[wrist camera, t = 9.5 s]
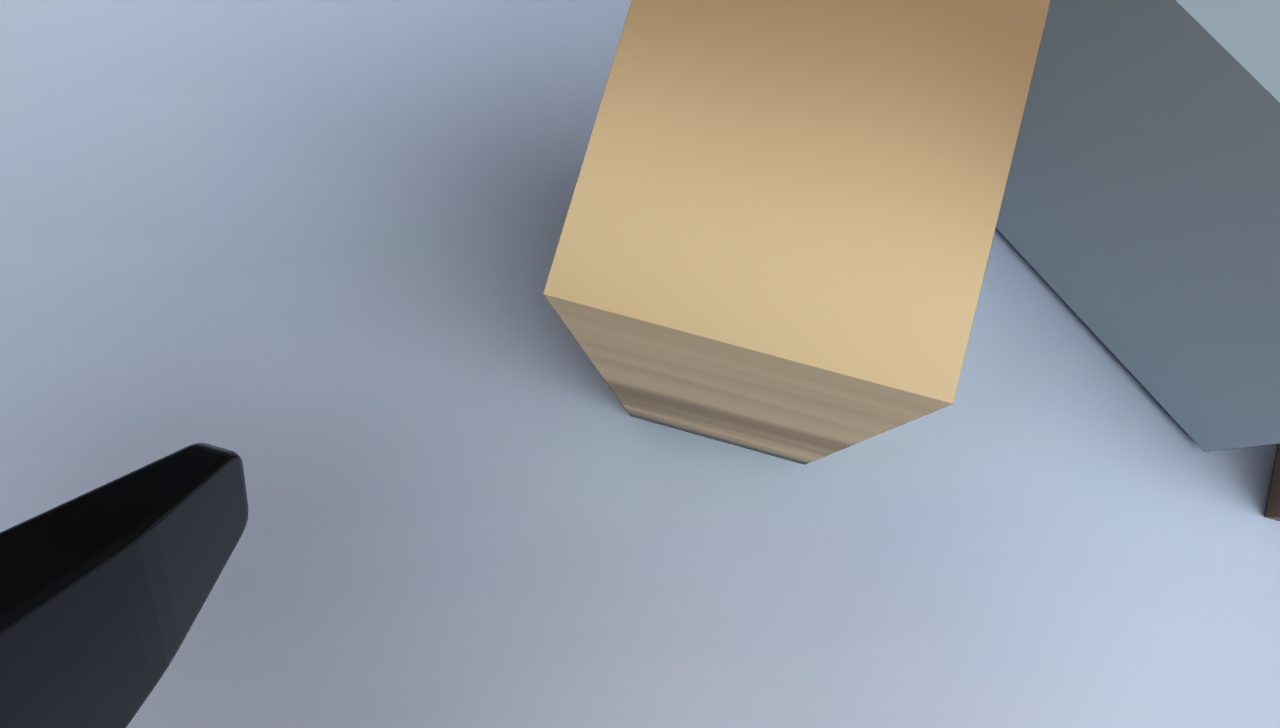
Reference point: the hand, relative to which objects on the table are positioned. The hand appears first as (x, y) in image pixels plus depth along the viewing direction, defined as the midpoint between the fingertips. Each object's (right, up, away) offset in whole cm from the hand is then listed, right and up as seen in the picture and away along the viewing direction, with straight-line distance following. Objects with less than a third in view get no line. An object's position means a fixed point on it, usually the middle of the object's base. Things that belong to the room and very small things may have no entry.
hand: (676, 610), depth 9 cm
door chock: (+2, +3, +13) cm, 13 cm away
